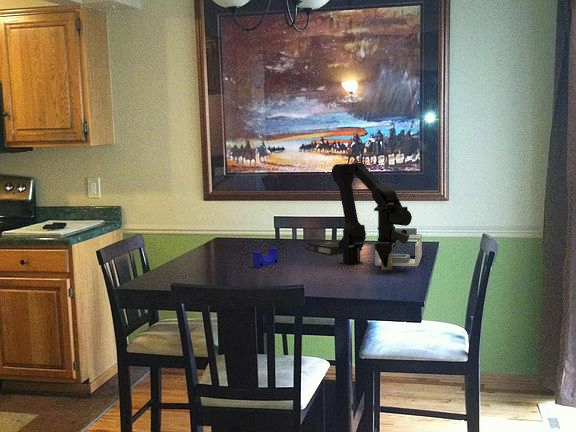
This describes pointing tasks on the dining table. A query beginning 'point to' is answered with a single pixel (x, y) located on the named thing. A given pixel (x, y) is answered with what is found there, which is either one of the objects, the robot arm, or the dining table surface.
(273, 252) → the cable clip
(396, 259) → the housing
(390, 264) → the jaw peg
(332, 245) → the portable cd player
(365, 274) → the dining table surface
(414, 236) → the lid
